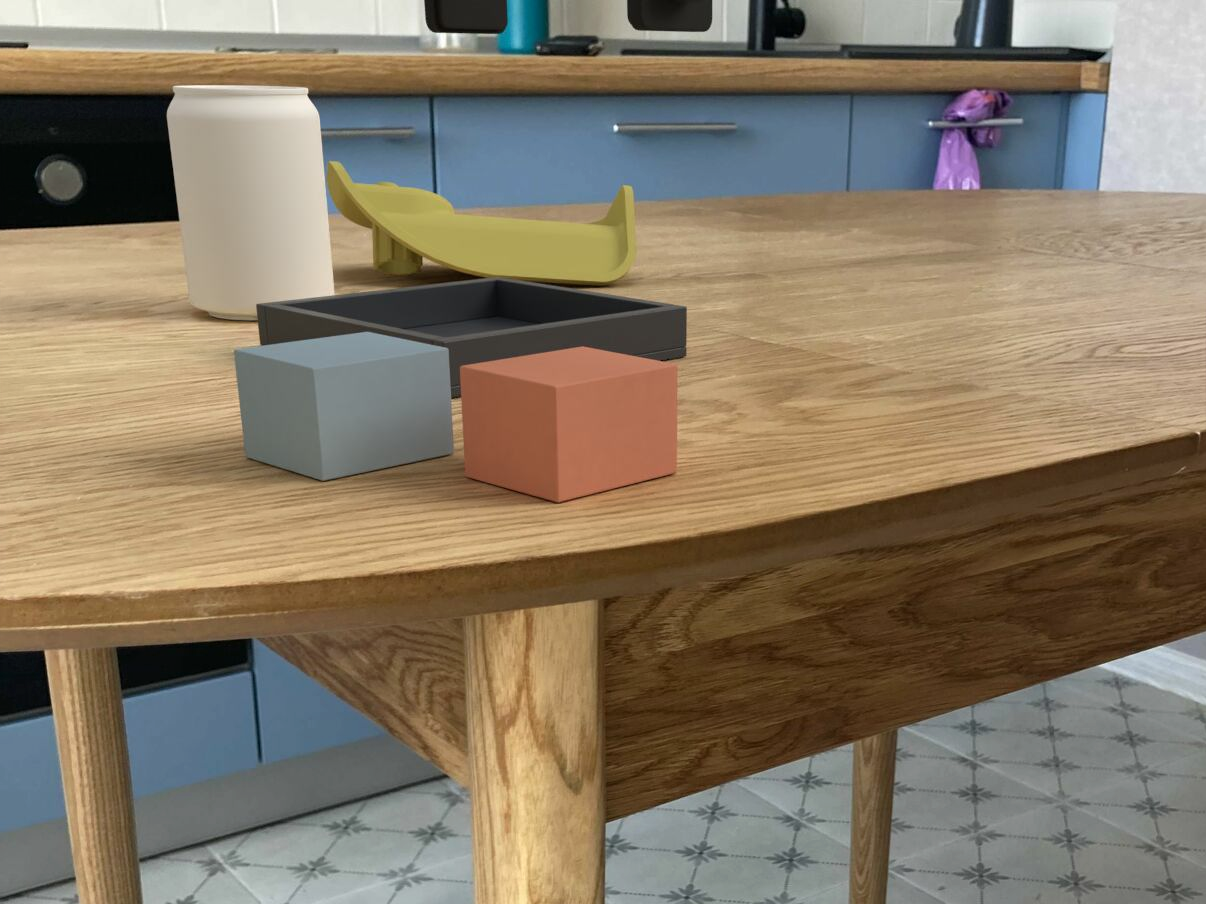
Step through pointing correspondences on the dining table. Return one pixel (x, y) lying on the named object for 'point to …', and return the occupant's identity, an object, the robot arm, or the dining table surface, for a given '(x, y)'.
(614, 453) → the coral box block
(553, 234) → the plastic component
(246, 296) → the beverage can
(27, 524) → the dining table surface
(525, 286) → the backing tray
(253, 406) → the slate blue box block
